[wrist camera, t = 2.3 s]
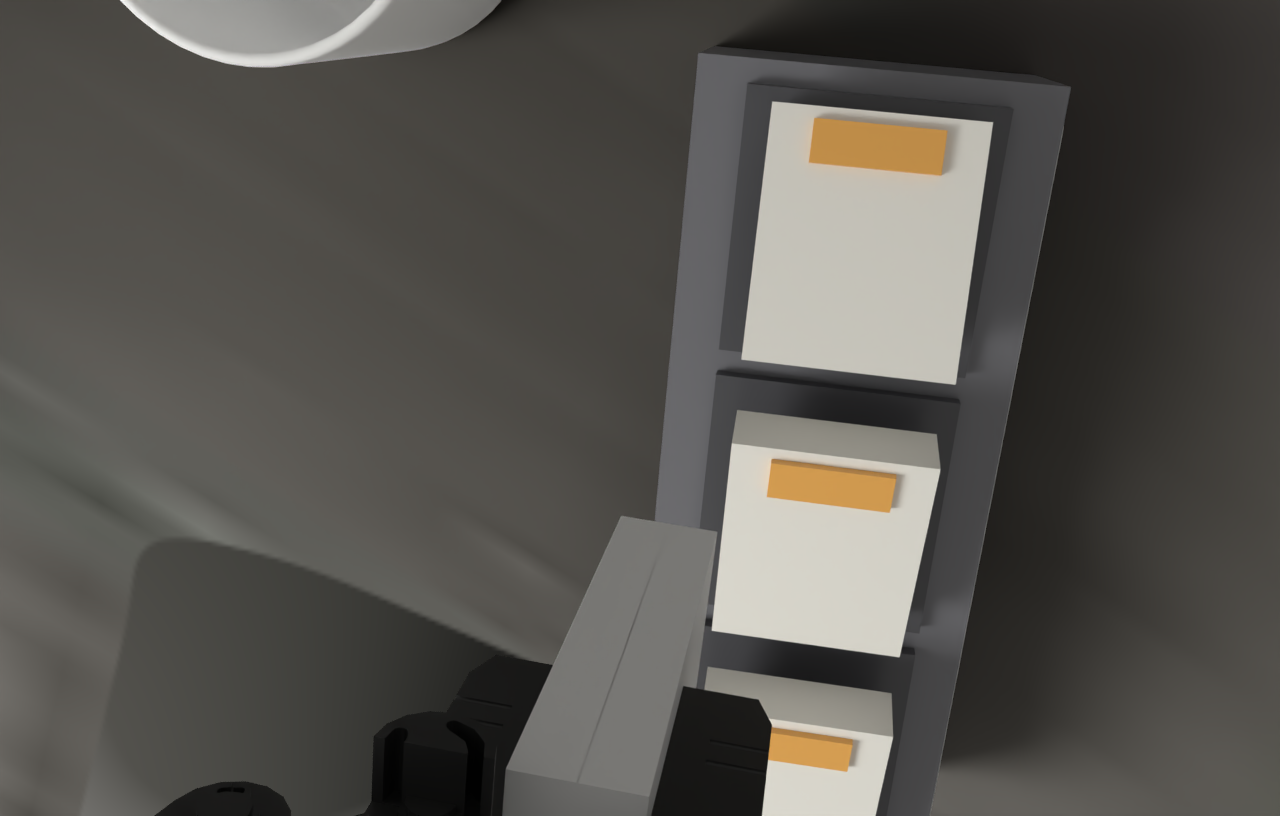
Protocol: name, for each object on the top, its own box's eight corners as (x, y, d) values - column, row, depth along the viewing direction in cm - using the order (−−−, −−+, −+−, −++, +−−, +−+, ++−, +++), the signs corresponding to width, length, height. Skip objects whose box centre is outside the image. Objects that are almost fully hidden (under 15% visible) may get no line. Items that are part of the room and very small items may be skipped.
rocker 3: (691, 814, 36) (684, 864, 34) (707, 666, 33) (700, 714, 31) (859, 841, 35) (859, 892, 34) (891, 693, 32) (893, 742, 31)
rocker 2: (717, 592, 34) (711, 635, 32) (737, 409, 30) (731, 447, 29) (897, 617, 33) (899, 662, 31) (936, 434, 30) (941, 473, 28)
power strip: (633, 869, 44) (610, 982, 39) (714, 46, 34) (696, 53, 29) (887, 910, 43) (897, 1032, 38) (1042, 75, 33) (1083, 88, 28)
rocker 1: (743, 354, 30) (741, 360, 28) (772, 110, 29) (772, 100, 27) (946, 378, 29) (956, 385, 28) (981, 130, 29) (994, 121, 27)
